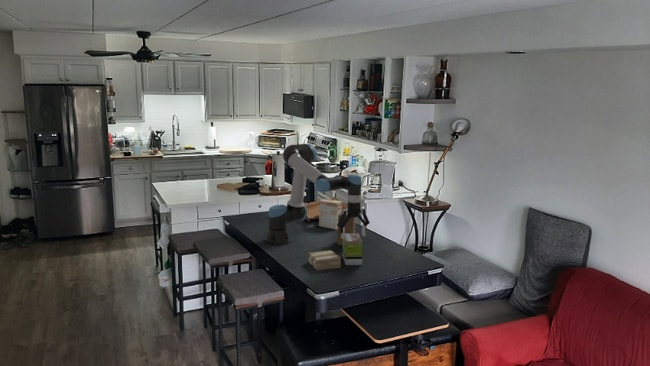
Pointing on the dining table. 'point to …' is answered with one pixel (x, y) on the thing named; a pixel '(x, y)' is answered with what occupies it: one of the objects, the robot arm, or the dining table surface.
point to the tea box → (352, 249)
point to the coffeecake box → (329, 213)
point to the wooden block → (346, 228)
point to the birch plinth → (324, 260)
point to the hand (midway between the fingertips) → (353, 237)
